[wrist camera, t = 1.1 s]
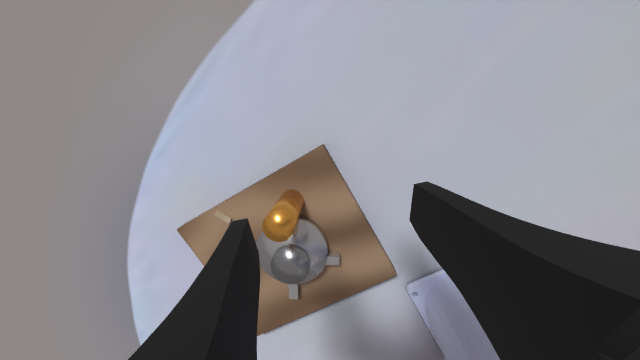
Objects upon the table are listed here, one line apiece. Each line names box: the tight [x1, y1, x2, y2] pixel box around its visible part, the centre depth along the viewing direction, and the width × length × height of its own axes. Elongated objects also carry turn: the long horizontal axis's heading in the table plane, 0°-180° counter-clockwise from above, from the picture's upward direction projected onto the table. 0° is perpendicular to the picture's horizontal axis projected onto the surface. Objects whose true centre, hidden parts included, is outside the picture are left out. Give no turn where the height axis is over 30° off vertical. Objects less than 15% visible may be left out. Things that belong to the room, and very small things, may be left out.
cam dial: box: [256, 189, 340, 299], centre depth 19 cm, size 10×8×5 cm
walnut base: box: [177, 144, 397, 336], centre depth 22 cm, size 13×15×1 cm
